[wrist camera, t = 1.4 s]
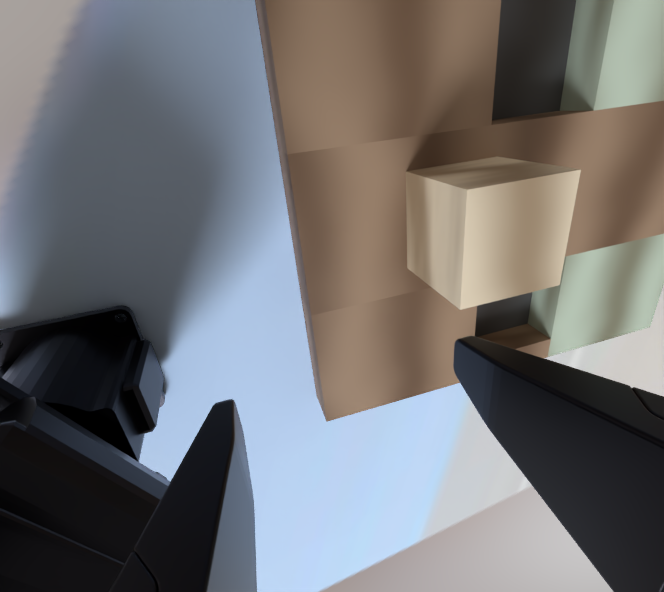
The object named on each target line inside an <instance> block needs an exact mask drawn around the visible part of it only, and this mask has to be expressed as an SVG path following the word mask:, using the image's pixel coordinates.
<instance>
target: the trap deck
mask: <svg viewBox="0 0 664 592" xmlns="http://www.w3.org/2000/svg"><path fill="white" fill-rule="evenodd" d="M255 3H256V10H257V16H258V22H259V29H260V35H261V42H262V48H263V54H264V61H265V67H266V74H267V80H268V86H269V93H270V99H271V106H272V112H273V119H274V125H275V131H276V138H277V144H278V151H279V157H280V163H281V170H282V176H283V183H284V189H285V195H286V202H287V208H288V215H289V221H290V228H291V234H292V240H293V247H294V253H295V260H296V266H297V272H298V279H299V285H300V292H301V298H302V304H303V311H304V317H305V324H306V330H307V337H308V343H309V349H310V356H311V362H312V369H313V375H314V381H315V388H316V394H317V398H318V400H319V403H320V405H321V408H322V411H323V413H324V416H325V419H326V421H330V420H334V419H337V418H340V417H344V416H347V415H351V414H354V413H358V412H361V411H364V410H368V409H371V408H375V407H378V406H382V405H385V404H388V403H392V402H395V401H399V400H402V399H406V398H409V397H412V396H416V395H419V394H423V393H426V392H429V391H433V390H436V389H440V388H443V387H447V386H450V385H453V384H457V383H460V382H459V380H458V378H457V377H456V375H455V372H454V368H453V361H454V344H455V341H456V340H457V339H459V338H463V337H466V336H475V337H479V338H482V339H485V340H488V341H491V342H494V343H497V344H500V345H503V346H507V347H510V348H513V349H516V350H519V351H522V352H525V353H528V354H532V355H535V356H538V357H541V358H546V357H549V356H553V355H556V354H560V353H563V352H566V351H570V350H573V349H577V348H580V347H584V346H587V345H590V344H594V343H597V342H601V341H604V340H607V339H611V338H614V337H618V336H621V335H625V334H628V333H631V332H635V331H638V330H642V329H645V328H649V327H650V325H651V322H652V319H653V316H654V313H655V310H656V307H657V303H658V300H659V297H660V294H661V291H662V288H663V285H664V0H255ZM492 157H504V158H510V159H517V160H523V161H529V162H536V163H542V164H549V165H555V166H562V167H568V168H574V169H581V172H580V178H579V183H578V188H577V194H576V199H575V205H574V210H573V215H572V221H571V226H570V232H569V237H568V242H567V248H566V253H565V259H564V264H563V270H562V275H561V280H560V285H558V286H554V287H550V288H546V289H542V290H538V291H534V292H530V293H526V294H522V295H518V296H514V297H510V298H506V299H502V300H498V301H494V302H490V303H486V304H482V305H478V306H474V307H470V308H466V309H462V310H460V309H458V308H457V307H456V306H455V305H453V304H452V303H451V302H450V301H448V300H447V299H446V298H444V297H443V296H442V295H441V294H439V293H438V292H437V291H436V290H434V289H433V288H432V287H431V286H429V285H428V284H427V283H425V282H424V281H423V280H422V279H420V278H419V277H418V276H417V275H415V274H414V273H413V272H412V271H410V270H409V269H408V268H407V214H406V171H411V170H418V169H424V168H430V167H436V166H442V165H448V164H455V163H461V162H467V161H473V160H479V159H485V158H492Z"/></svg>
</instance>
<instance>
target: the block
mask: <svg viewBox="0 0 664 592" xmlns="http://www.w3.org/2000/svg"><path fill="white" fill-rule="evenodd" d="M580 172H581V169H574V168H568V167H562V166H555V165H549V164H542V163H536V162H529V161H523V160H517V159H510V158H504V157H492V158H485V159H479V160H473V161H467V162H461V163H455V164H448V165H442V166H436V167H430V168H424V169H418V170H411V171H406V214H407V268H408V269H409V270H410V271H412V272H413V273H414V274H415V275H417V276H418V277H419V278H420V279H422V280H423V281H424V282H425V283H427V284H428V285H429V286H431V287H432V288H433V289H434V290H436V291H437V292H438V293H439V294H441V295H442V296H443V297H444V298H446V299H447V300H448V301H450V302H451V303H452V304H453V305H455V306H456V307H457V308H458V309H460V310H462V309H466V308H470V307H474V306H478V305H482V304H486V303H490V302H494V301H498V300H502V299H506V298H510V297H514V296H518V295H522V294H526V293H530V292H534V291H538V290H542V289H546V288H550V287H554V286H558V285H560V280H561V275H562V270H563V264H564V259H565V253H566V248H567V242H568V237H569V232H570V226H571V221H572V215H573V210H574V205H575V199H576V194H577V188H578V183H579V178H580Z"/></svg>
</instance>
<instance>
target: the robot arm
mask: <svg viewBox="0 0 664 592" xmlns="http://www.w3.org/2000/svg"><path fill="white" fill-rule="evenodd" d="M117 314H124V315H125V316H126V318H125V319H120V318H118V316H117ZM0 341H1V342H2V343H3V345H0V592H257V582H256V549H255V517H254V500H253V492H252V485H251V479H250V472H249V466H248V459H247V453H246V446H245V440H244V434H243V429H242V425H241V422H240V418H239V415H238V411H237V408H236V404H235V402H234V400H232V399H229V400H226V401H222V402H218V403H215V404H214V405H213V407H212V409H211V411H210V412H209V414H208V416H207V418H206V419H205V421H204V423H203V425H202V427H201V428H200V430H199V432H198V434H197V436H196V437H195V439H194V441H193V443H192V444H191V446H190V448H189V450H188V452H187V453H186V455H185V457H184V459H183V461H182V462H181V464H180V466H179V468H178V470H177V471H176V473H175V475H174V477H173V478H172V480H171V482H170V481H168V480H167V478H166V477H164V476H163V475H161V474H160V473H158V472H154V471H152V470H150V469H149V468H147V467H146V466H144V465H143V464H141V463H139V458H140V453H141V448H142V443H143V438H144V434H145V433H148V432H152V431H153V430H154V428H155V427H156V424H157V418H158V412H159V407H161V406H162V405H163V404H164V401H165V394H164V392H163V389H162V388H163V382H164V376H163V373H162V371H161V368H160V365H159V363H158V360H157V357H156V355H155V352H154V349H153V347H152V344H151V342H150V341H148V340H146V339H144V340H143V337H142V335H141V332H140V330H139V327H138V325H137V322H136V319H135V317H134V314H133V312H132V310H131V309H130V308H128V307H126V306H116V307H111V308H106V309H102V310H97V311H92V312H87V313H82V314H77V315H72V316H68V317H63V318H58V319H53V320H48V321H43V322H38V323H33V324H29V325H24V326H19V327H14V328H9V329H4V330H0ZM453 368H454V372H455V375H456V377H457V378H458V380H459V382H460V383H461V385H462V386H463V388H464V390H465V391H466V393H467V395H468V396H469V398H470V399H471V401H472V403H473V404H474V406H475V408H476V409H477V411H478V413H479V414H480V416H481V417H482V419H483V421H484V422H485V424H486V425H487V427H488V428H489V429H490V431H491V432H492V433H493V435H494V436H495V437H496V439H497V440H498V441H499V443H500V444H501V445H502V447H503V448H504V449H505V450H506V452H507V453H508V454H509V456H510V457H511V458H512V460H513V461H514V462H515V464H516V465H517V466H518V467H519V469H520V470H521V471H522V473H523V474H524V475H525V477H526V478H527V479H528V480H529V482H530V483H531V484H532V486H533V487H534V488H535V490H536V491H537V492H538V494H539V495H540V496H541V497H542V499H543V500H544V501H545V503H546V504H547V505H548V507H549V508H550V509H551V511H552V512H553V513H554V514H555V516H556V517H557V518H558V520H559V521H560V522H561V523H562V525H563V526H564V527H565V529H566V530H567V531H568V532H569V534H570V535H571V537H572V538H573V539H574V540H575V541H576V543H577V544H578V546H579V547H580V548H581V550H582V551H583V552H584V553H585V555H586V556H587V557H588V559H589V560H590V561H591V563H592V564H593V565H594V567H595V568H596V569H597V571H598V572H599V573H600V574H601V576H602V577H603V578H604V580H605V581H606V582H607V584H608V585H609V586H610V588H611V589H612V590H613V591H614V592H664V397H663V396H660V395H657V394H653V393H650V392H647V391H644V390H641V389H638V388H635V387H633V388H631V387H630V386H628V385H625V384H622V383H619V382H616V381H613V380H610V379H607V378H603V377H600V376H597V375H594V374H591V373H588V372H585V371H582V370H578V369H575V368H572V367H569V366H566V365H563V364H560V363H557V362H553V361H550V360H547V359H544V358H541V357H538V356H535V355H532V354H528V353H525V352H522V351H519V350H516V349H513V348H510V347H507V346H503V345H500V344H497V343H494V342H491V341H488V340H485V339H482V338H479V337H475V336H466V337H463V338H459V339H457V340H456V341H455V344H454V361H453Z"/></svg>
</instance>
